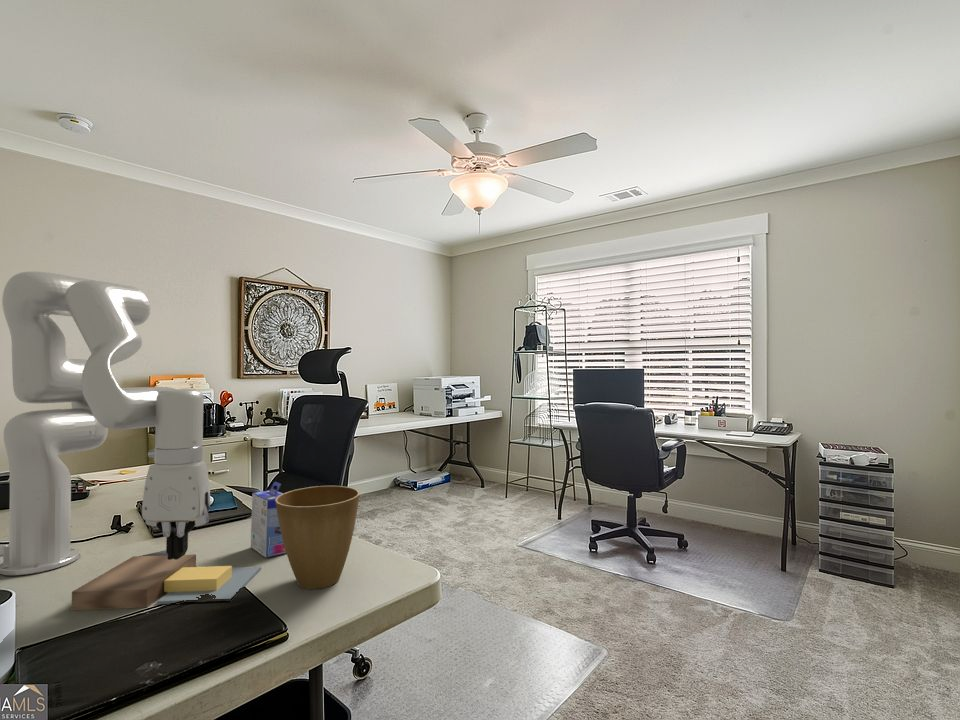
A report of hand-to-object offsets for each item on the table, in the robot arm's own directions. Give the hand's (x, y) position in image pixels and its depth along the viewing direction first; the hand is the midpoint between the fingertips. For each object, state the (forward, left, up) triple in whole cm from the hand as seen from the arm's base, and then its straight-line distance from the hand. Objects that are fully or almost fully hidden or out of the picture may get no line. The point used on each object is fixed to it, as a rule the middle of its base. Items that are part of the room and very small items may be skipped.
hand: (176, 556), depth 91 cm
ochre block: (+4, -1, -5) cm, 6 cm away
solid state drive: (-11, +14, -6) cm, 19 cm away
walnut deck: (-6, 0, -5) cm, 8 cm away
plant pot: (+26, 0, -6) cm, 26 cm away
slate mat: (+7, 0, -5) cm, 8 cm away
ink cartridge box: (+11, +18, -6) cm, 21 cm away
